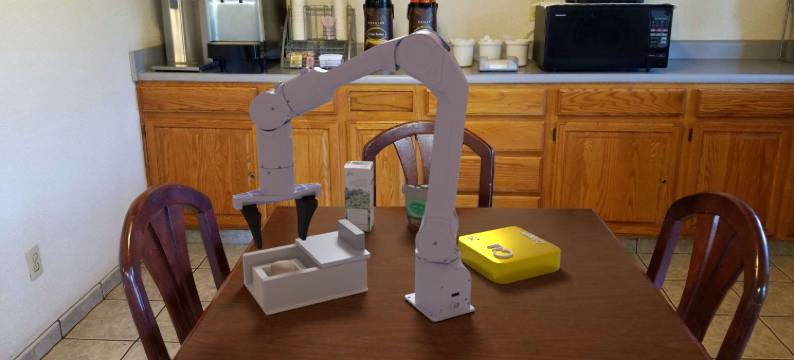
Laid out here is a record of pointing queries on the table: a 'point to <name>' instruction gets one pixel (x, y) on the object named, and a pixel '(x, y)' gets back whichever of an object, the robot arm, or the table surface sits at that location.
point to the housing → (299, 279)
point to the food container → (415, 203)
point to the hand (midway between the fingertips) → (280, 242)
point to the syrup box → (359, 194)
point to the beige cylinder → (282, 267)
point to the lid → (336, 246)
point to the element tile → (509, 254)
